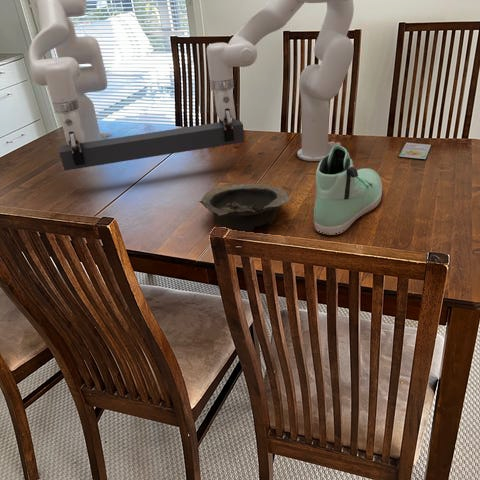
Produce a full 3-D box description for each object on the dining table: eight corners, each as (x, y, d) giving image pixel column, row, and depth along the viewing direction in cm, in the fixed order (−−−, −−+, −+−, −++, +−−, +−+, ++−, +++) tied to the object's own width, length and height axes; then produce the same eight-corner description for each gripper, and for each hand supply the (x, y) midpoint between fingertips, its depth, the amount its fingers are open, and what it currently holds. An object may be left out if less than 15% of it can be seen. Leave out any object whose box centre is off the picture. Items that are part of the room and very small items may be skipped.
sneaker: (389, 187, 148) (396, 123, 138) (356, 242, 123) (361, 168, 112) (346, 181, 154) (350, 119, 144) (306, 232, 129) (307, 161, 118)
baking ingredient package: (399, 155, 168) (406, 141, 179) (398, 156, 168) (406, 143, 179) (425, 158, 164) (431, 144, 176) (425, 159, 164) (431, 145, 176)
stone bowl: (227, 251, 123) (222, 218, 119) (191, 218, 143) (186, 190, 139) (307, 222, 132) (305, 191, 128) (262, 196, 152) (259, 168, 148)
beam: (64, 170, 154) (59, 152, 150) (65, 164, 158) (60, 146, 155) (244, 142, 163) (243, 124, 160) (240, 136, 168) (238, 119, 165)
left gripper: (77, 111, 140) (92, 169, 150) (79, 96, 154) (92, 149, 164) (51, 115, 139) (67, 172, 148) (55, 100, 153) (70, 153, 163)
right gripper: (239, 88, 148) (243, 144, 158) (227, 77, 163) (232, 128, 172) (215, 92, 147) (221, 148, 156) (205, 80, 161) (211, 132, 171)
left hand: (80, 160), depth 156 cm, fingers closed on beam, 5 cm apart
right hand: (227, 137), depth 164 cm, fingers closed on beam, 5 cm apart
